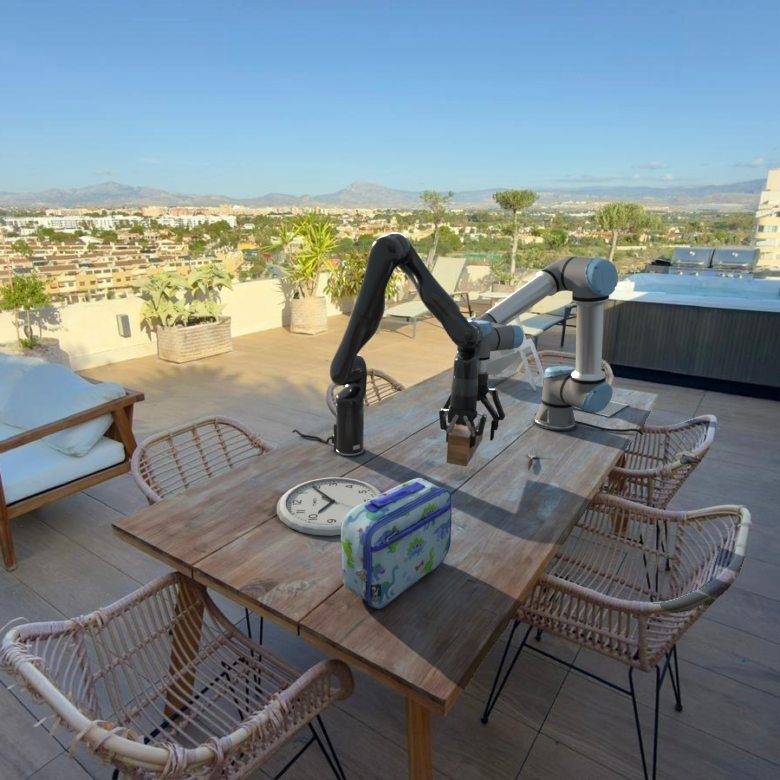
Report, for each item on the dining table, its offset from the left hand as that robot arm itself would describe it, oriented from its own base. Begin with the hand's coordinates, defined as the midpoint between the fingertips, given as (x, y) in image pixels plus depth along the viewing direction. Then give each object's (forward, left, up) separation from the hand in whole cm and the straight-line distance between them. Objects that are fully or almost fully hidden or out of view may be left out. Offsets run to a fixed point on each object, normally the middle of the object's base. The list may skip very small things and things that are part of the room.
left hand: (460, 445), depth 155 cm
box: (-1, +7, -5) cm, 9 cm away
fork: (+15, +25, -12) cm, 31 cm away
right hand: (-2, +14, -2) cm, 14 cm away
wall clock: (-23, -32, -12) cm, 41 cm away
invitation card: (+24, +97, -12) cm, 101 cm away
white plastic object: (-24, +105, -12) cm, 109 cm away
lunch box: (+8, -50, -12) cm, 52 cm away
